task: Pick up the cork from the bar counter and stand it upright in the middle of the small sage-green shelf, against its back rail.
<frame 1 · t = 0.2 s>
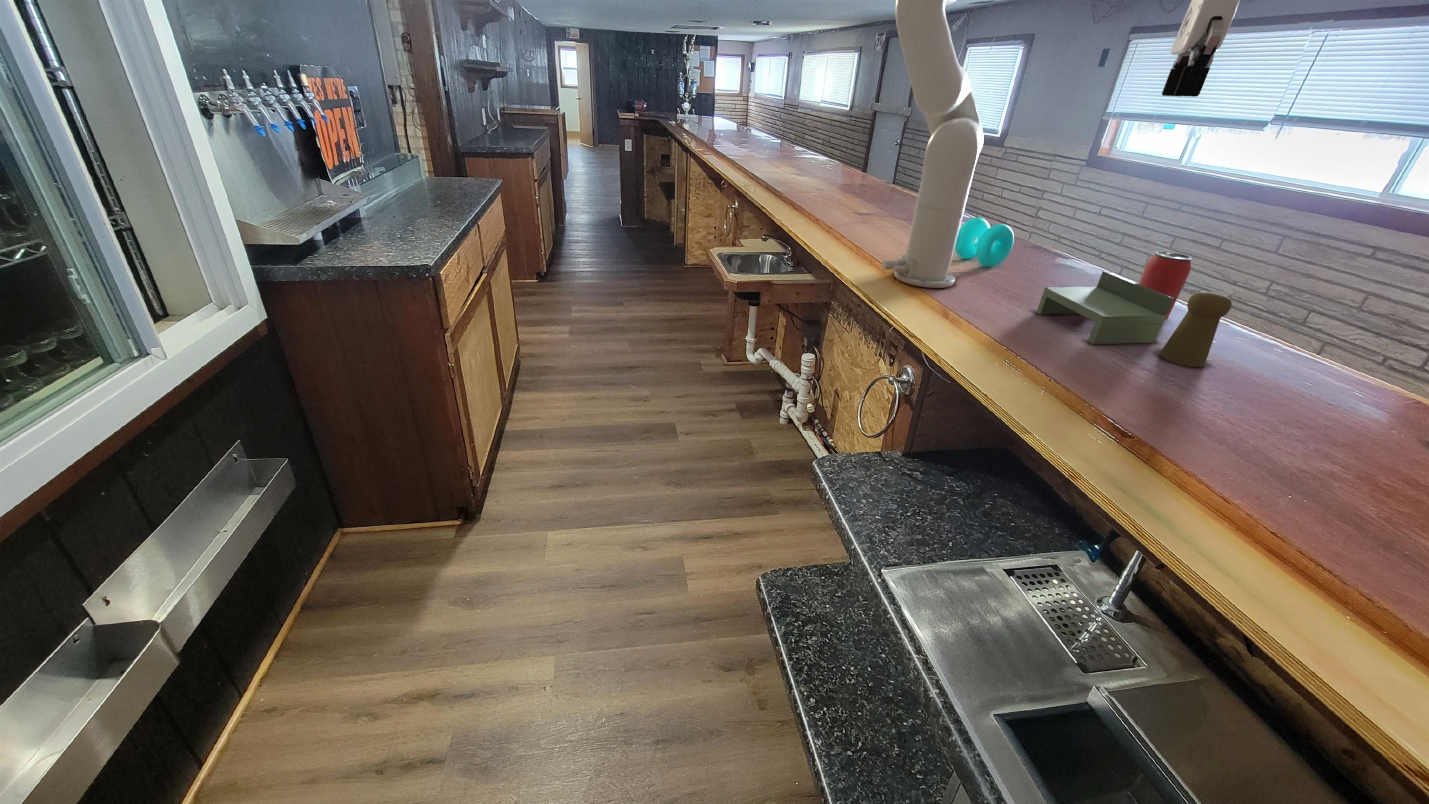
hand: (1178, 96, 93), 37 cm above the counter, tool pointing down, fingers open, 9 cm apart
cork: (1181, 360, 92), on the counter
turquoise spool: (977, 263, 138), on the counter
shelf: (1092, 326, 103), on the counter
beer can: (1145, 318, 108), on the counter
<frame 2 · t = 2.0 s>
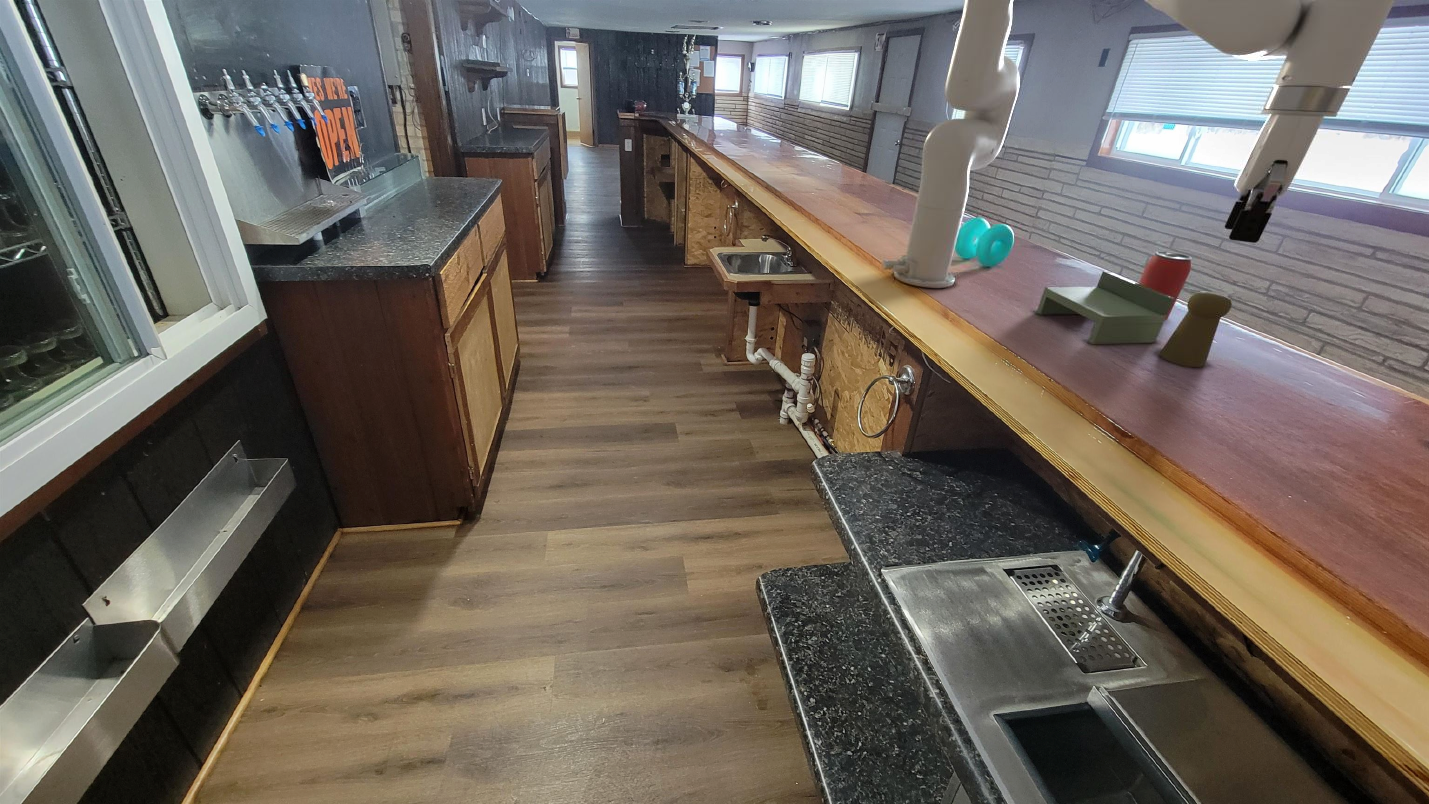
hand: (1239, 235, 82), 20 cm above the counter, tool pointing down, fingers open, 9 cm apart
nothing on the counter moved.
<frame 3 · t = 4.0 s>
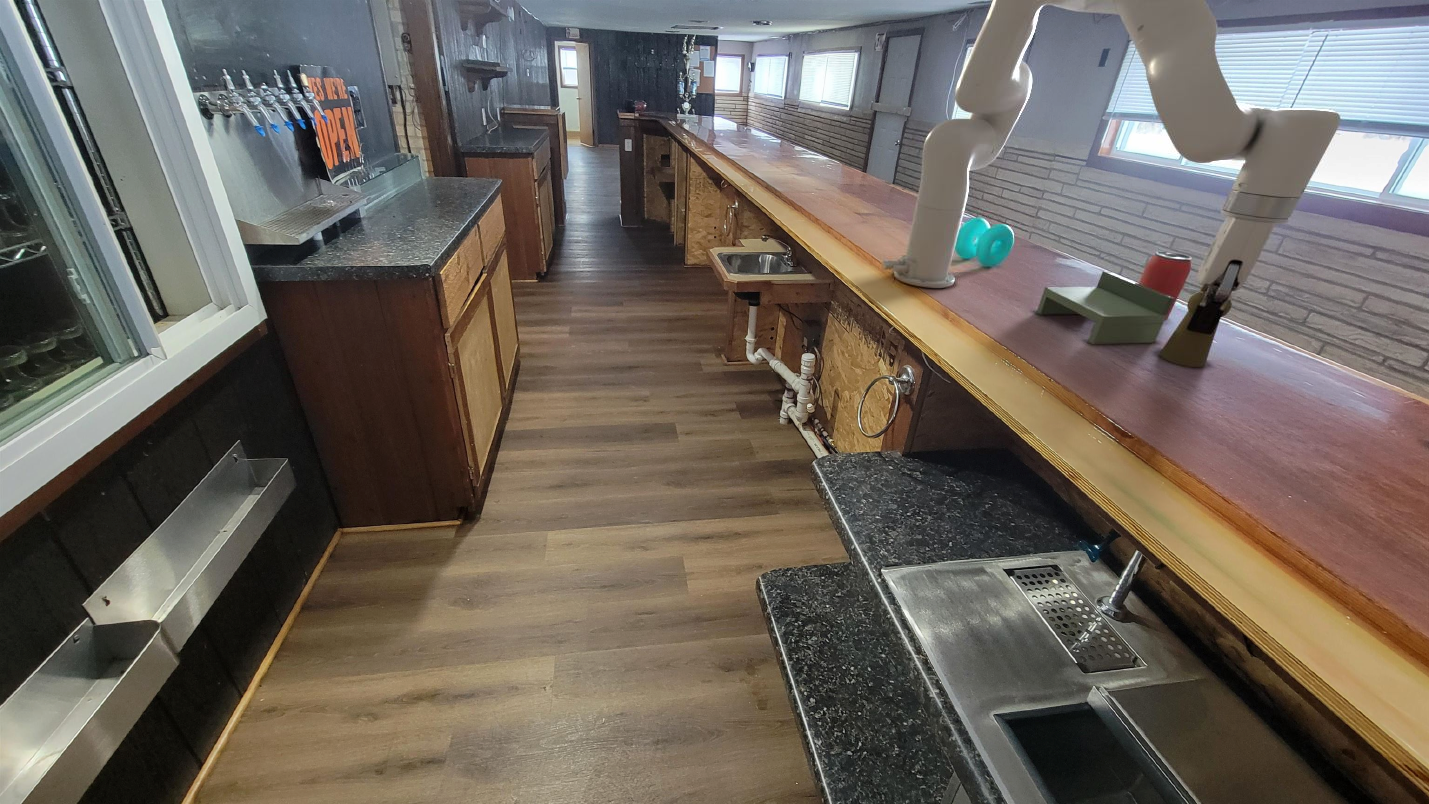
hand: (1198, 325, 89), 6 cm above the counter, tool pointing down, fingers closed on cork, 5 cm apart
cork: (1181, 360, 92), on the counter, touching gripper
everything else where it was.
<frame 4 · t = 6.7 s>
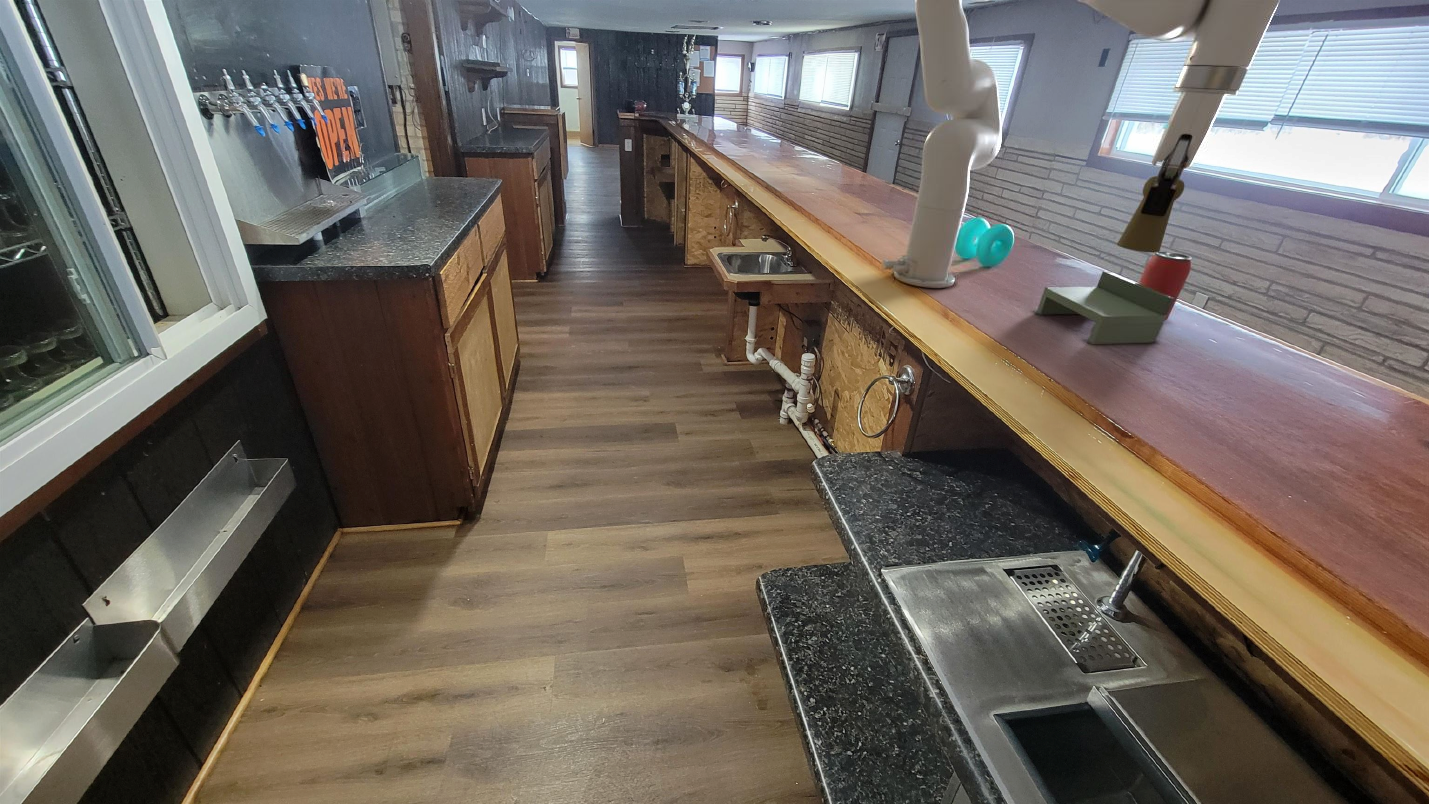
hand: (1153, 211, 90), 21 cm above the counter, tool pointing down, fingers closed on cork, 5 cm apart
cork: (1137, 248, 93), point 15 cm above the counter, touching gripper
everything else where it was.
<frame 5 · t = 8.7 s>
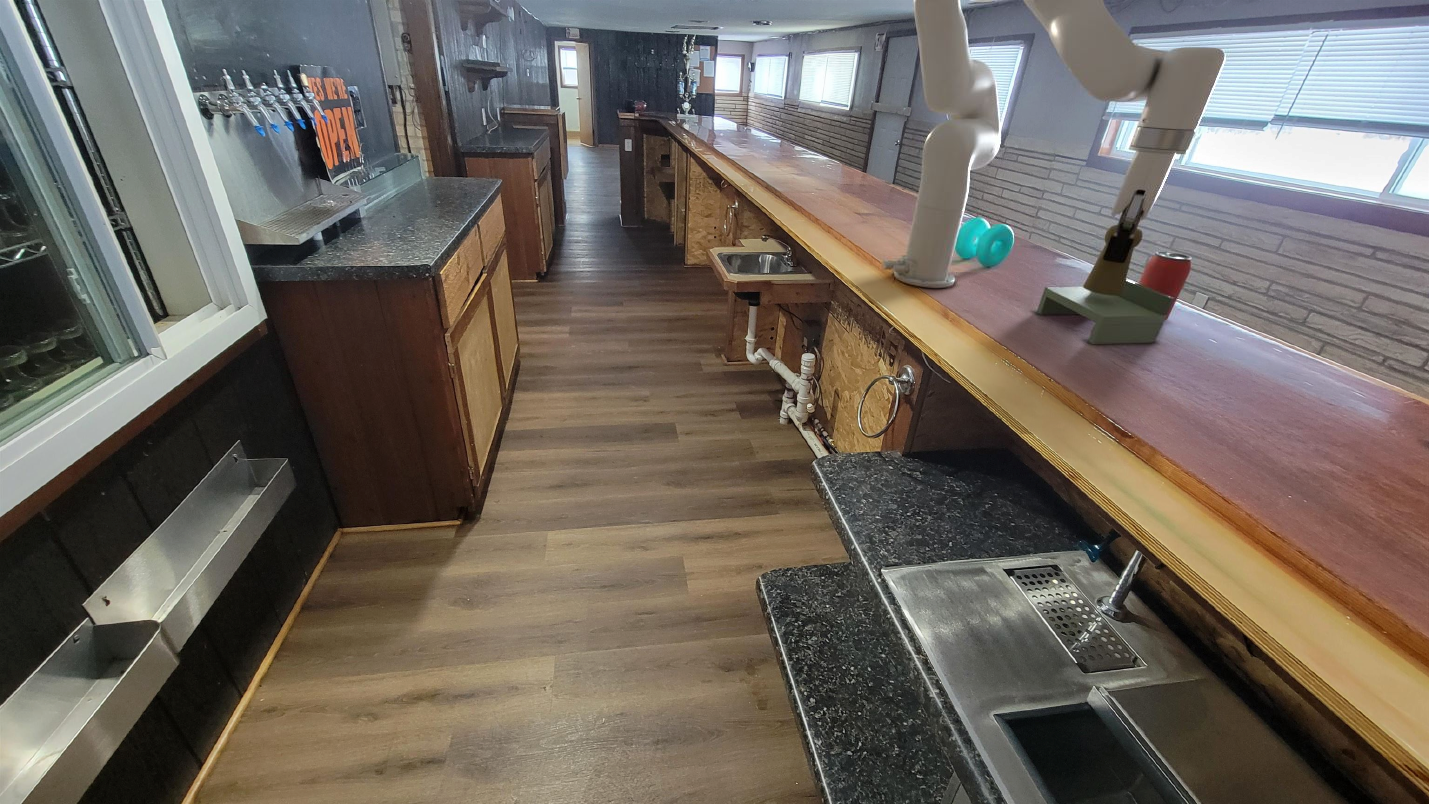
hand: (1115, 256, 96), 13 cm above the counter, tool pointing down, fingers closed on cork, 5 cm apart
cork: (1102, 290, 99), point 7 cm above the counter, touching gripper
everything else where it was.
when the fingers open (11 cm above the counter, at t = 9.7 s): cork stays where it is, resting on shelf.
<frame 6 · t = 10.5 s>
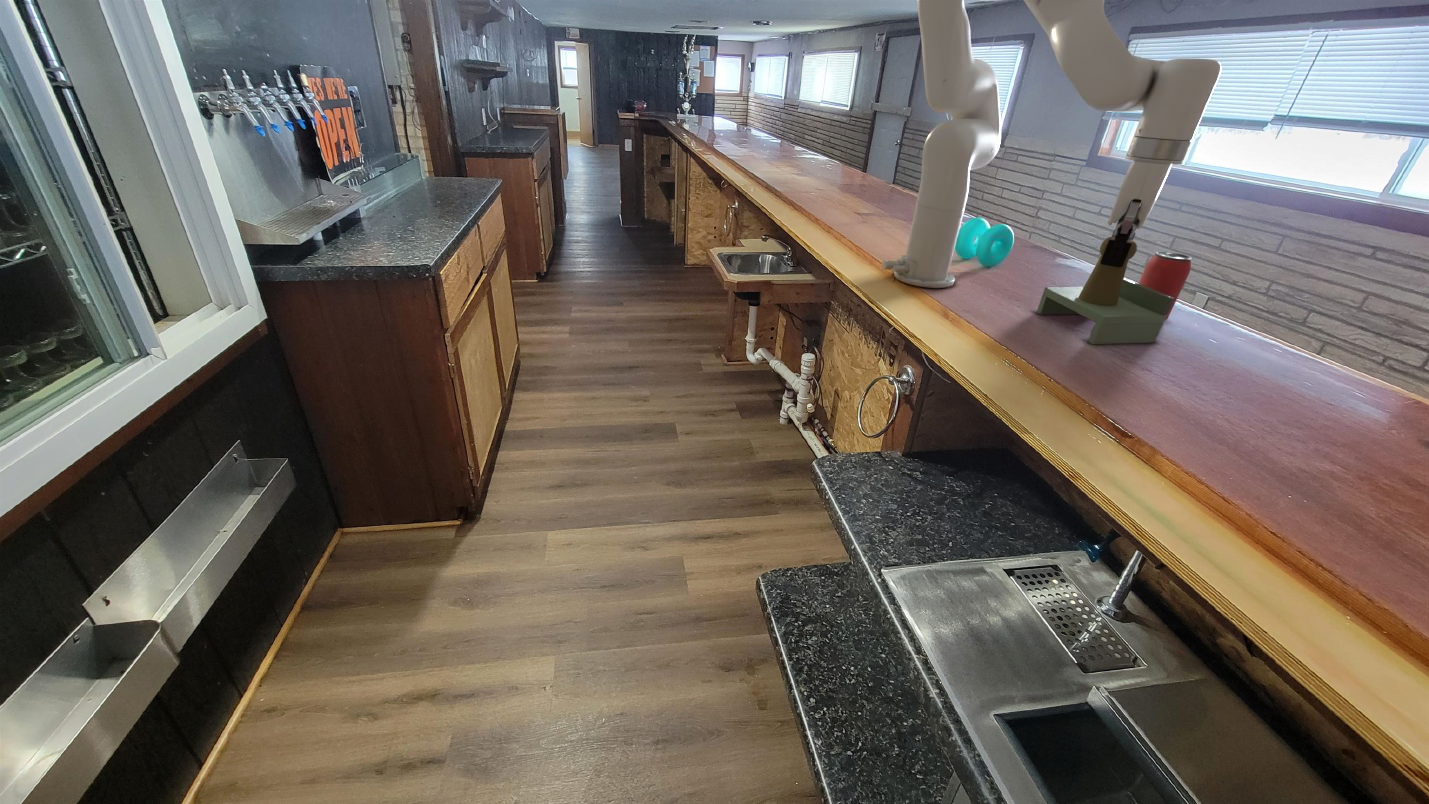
hand: (1113, 259, 96), 12 cm above the counter, tool pointing down, fingers open, 9 cm apart
cork: (1097, 301, 100), point 5 cm above the counter, touching shelf
everything else where it was.
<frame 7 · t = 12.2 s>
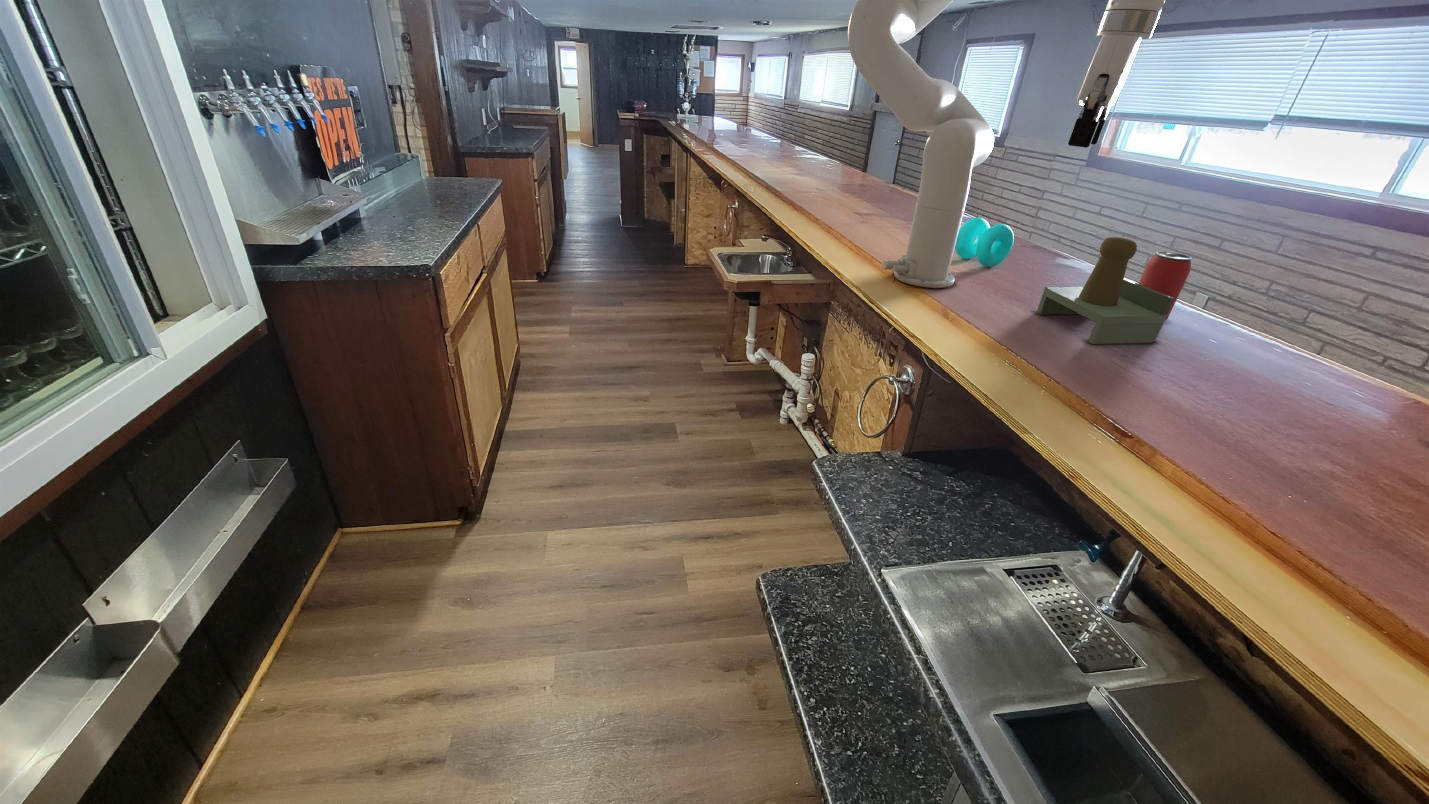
hand: (1082, 144, 97), 29 cm above the counter, tool pointing down, fingers open, 9 cm apart
nothing on the counter moved.
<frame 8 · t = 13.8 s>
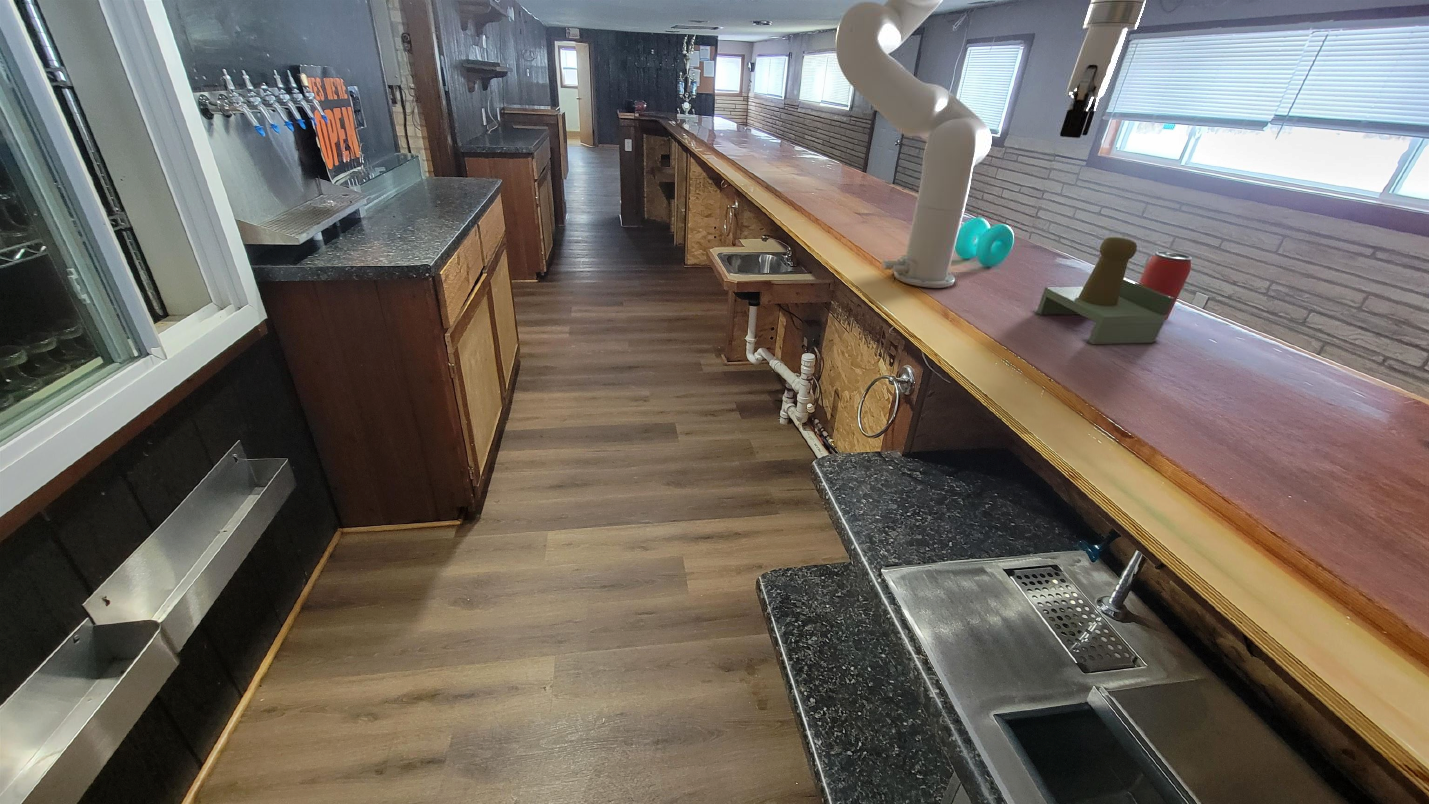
hand: (1073, 136, 99), 30 cm above the counter, tool pointing down, fingers open, 9 cm apart
nothing on the counter moved.
at the end: cork inside the target area on the shelf (1.0 cm from its centre), point 4.8 cm above the shelf's base; cork tilted 0°; the gripper is holding nothing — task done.
